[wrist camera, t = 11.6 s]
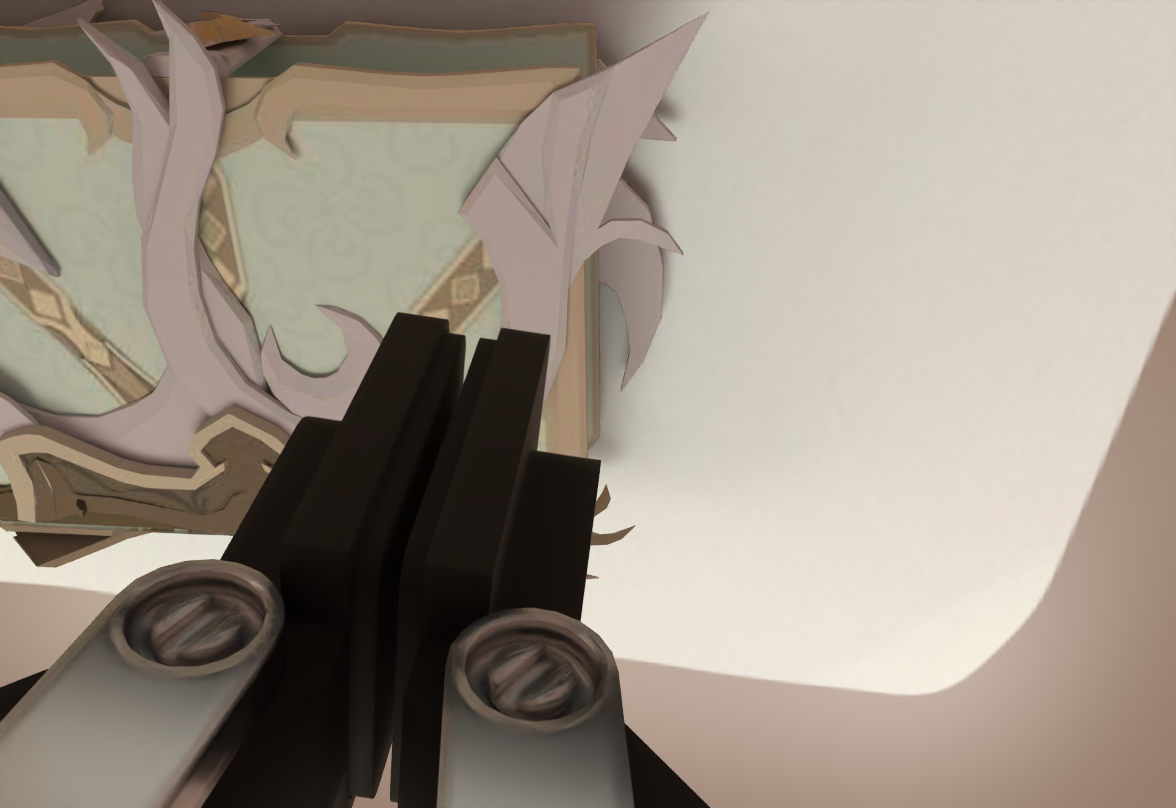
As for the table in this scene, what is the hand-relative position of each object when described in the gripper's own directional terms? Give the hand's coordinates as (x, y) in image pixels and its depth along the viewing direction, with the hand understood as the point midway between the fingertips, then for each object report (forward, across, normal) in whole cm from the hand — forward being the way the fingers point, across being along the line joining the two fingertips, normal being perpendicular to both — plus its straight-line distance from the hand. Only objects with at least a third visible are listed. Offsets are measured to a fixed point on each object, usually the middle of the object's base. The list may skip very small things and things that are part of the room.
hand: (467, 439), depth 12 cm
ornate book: (+29, +10, +12) cm, 34 cm away
